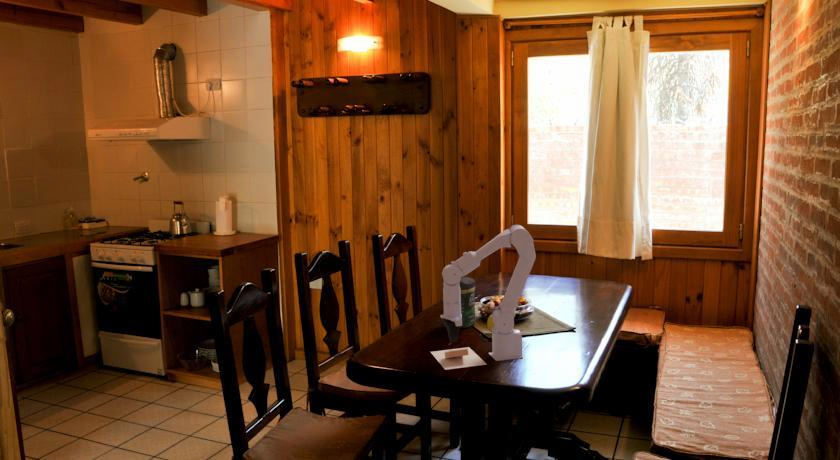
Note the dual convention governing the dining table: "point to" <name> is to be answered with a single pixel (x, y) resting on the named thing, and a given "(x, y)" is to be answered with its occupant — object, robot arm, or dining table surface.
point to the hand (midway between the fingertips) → (453, 341)
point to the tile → (456, 353)
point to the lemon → (490, 323)
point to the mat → (458, 359)
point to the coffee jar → (467, 301)
